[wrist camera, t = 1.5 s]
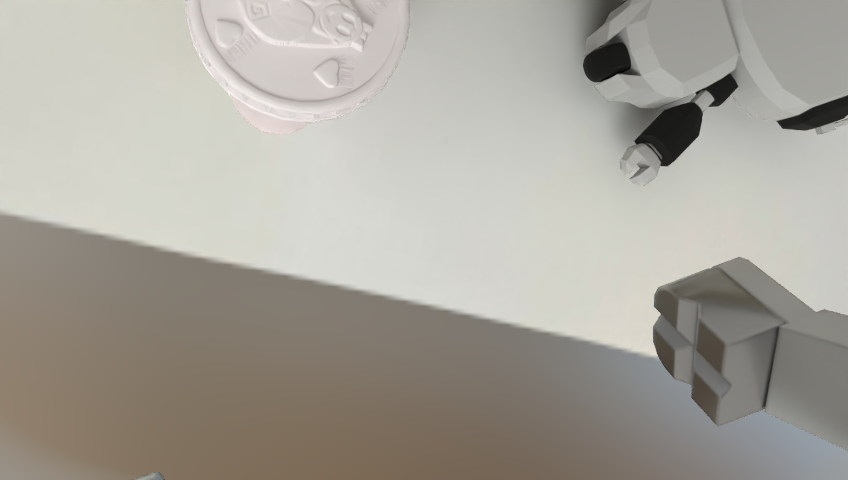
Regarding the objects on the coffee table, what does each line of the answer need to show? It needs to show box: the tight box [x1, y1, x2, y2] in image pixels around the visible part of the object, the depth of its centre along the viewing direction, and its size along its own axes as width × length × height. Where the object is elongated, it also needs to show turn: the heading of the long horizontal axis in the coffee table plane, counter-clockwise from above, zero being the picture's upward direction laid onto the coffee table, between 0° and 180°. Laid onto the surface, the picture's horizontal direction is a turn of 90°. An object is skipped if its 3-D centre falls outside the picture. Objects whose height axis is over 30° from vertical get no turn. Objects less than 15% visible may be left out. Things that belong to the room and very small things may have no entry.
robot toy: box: [583, 0, 848, 186], centre depth 33 cm, size 12×4×15 cm
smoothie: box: [186, 0, 410, 134], centre depth 22 cm, size 6×6×14 cm
